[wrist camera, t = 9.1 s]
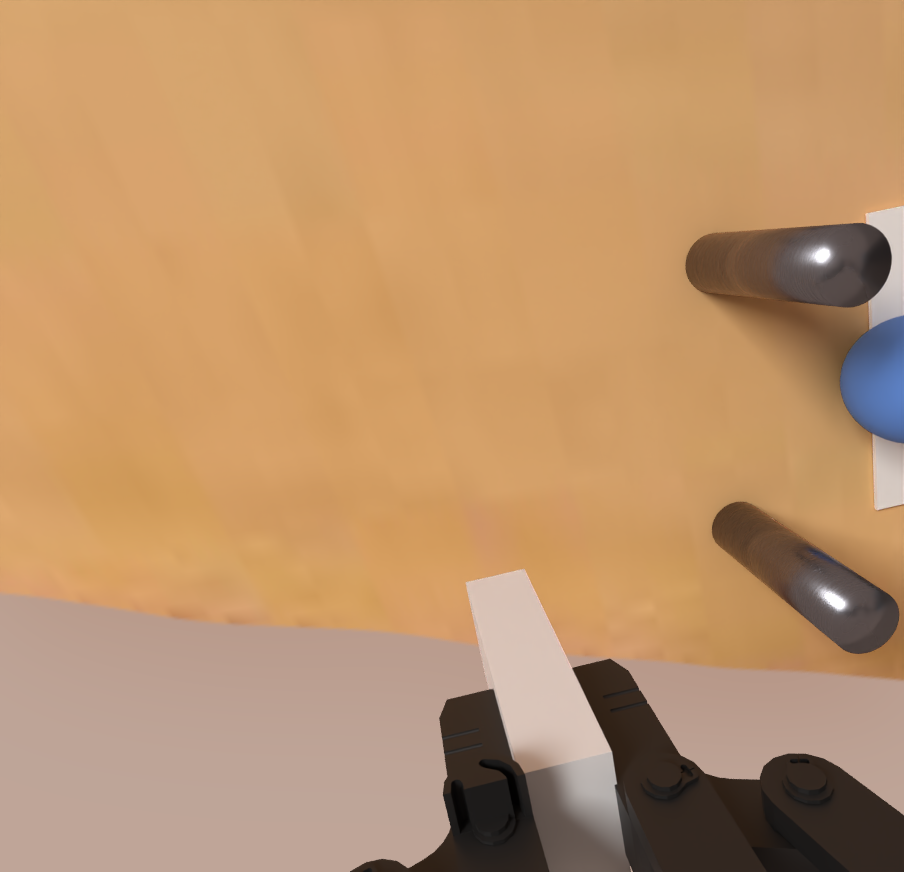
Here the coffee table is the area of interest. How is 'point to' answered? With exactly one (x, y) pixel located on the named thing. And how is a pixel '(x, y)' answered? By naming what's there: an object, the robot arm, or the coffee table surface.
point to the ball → (877, 380)
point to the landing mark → (894, 464)
